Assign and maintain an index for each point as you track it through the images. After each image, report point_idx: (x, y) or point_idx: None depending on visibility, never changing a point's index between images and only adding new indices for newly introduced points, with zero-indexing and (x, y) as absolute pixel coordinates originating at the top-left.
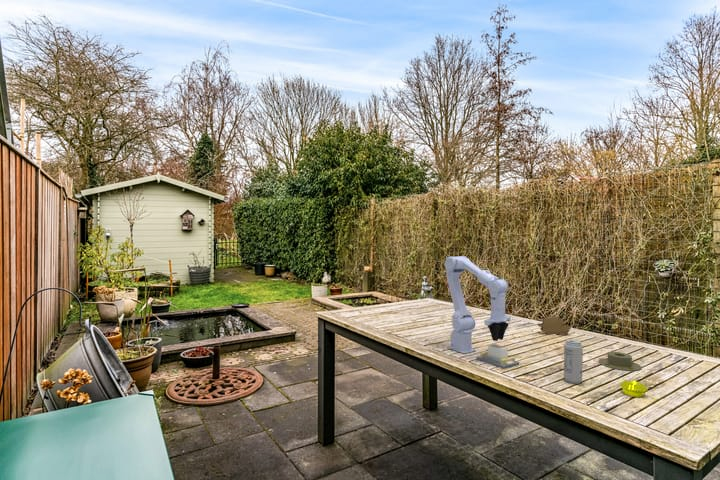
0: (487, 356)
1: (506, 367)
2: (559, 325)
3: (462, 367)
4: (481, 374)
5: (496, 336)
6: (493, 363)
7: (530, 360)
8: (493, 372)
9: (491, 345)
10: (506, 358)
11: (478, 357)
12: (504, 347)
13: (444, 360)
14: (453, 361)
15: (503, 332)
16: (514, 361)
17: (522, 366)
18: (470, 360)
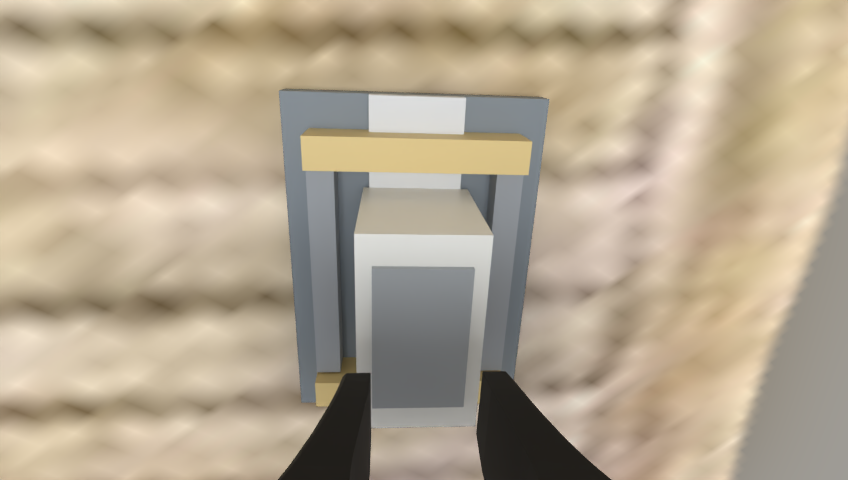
0: (488, 332)
1: (496, 96)
2: None
3: (769, 314)
4: (828, 119)
5: (546, 420)
6: (531, 221)
7: (41, 104)
8: (703, 90)
9: (465, 393)
10: (421, 167)
11: None
12: (380, 267)
13: (716, 469)
14: (689, 430)
15: (344, 460)
16: (316, 128)
17: (299, 29)
18: (568, 389)
